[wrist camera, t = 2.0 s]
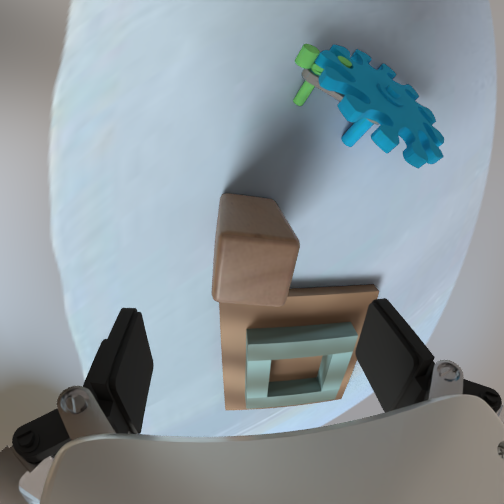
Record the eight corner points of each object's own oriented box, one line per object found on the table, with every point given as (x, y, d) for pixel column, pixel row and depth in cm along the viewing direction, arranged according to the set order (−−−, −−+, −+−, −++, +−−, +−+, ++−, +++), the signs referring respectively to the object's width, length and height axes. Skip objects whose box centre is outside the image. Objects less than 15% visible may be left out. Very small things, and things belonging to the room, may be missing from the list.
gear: (441, 102, 16) (460, 188, 12) (398, 140, 22) (394, 228, 18) (323, 18, 15) (287, 63, 11) (292, 71, 20) (247, 140, 16)
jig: (219, 290, 24) (218, 314, 21) (373, 284, 25) (389, 303, 22) (225, 402, 30) (226, 424, 27) (338, 391, 32) (345, 411, 29)
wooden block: (220, 191, 20) (218, 231, 13) (275, 198, 21) (303, 241, 14) (214, 242, 22) (210, 304, 15) (266, 248, 22) (286, 310, 15)
